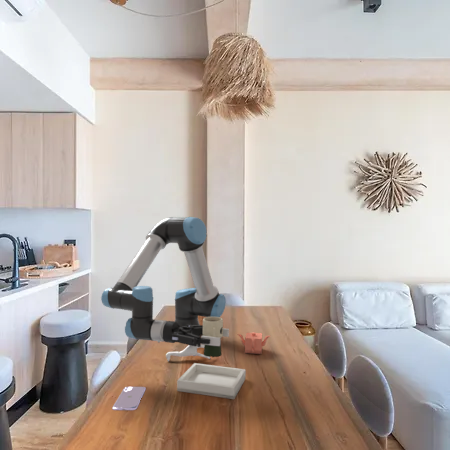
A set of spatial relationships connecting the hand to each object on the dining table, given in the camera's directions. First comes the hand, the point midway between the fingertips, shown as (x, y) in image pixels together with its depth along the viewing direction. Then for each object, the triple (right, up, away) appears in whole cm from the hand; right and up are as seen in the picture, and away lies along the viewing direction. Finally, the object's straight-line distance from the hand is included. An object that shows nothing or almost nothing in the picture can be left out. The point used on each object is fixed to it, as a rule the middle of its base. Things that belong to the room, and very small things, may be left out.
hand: (224, 337), depth 126 cm
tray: (-4, -17, +1) cm, 18 cm away
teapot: (+13, -17, +35) cm, 41 cm away
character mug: (-4, -7, +1) cm, 8 cm away
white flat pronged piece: (-15, -17, +25) cm, 34 cm away
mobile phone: (-31, -18, -9) cm, 36 cm away
